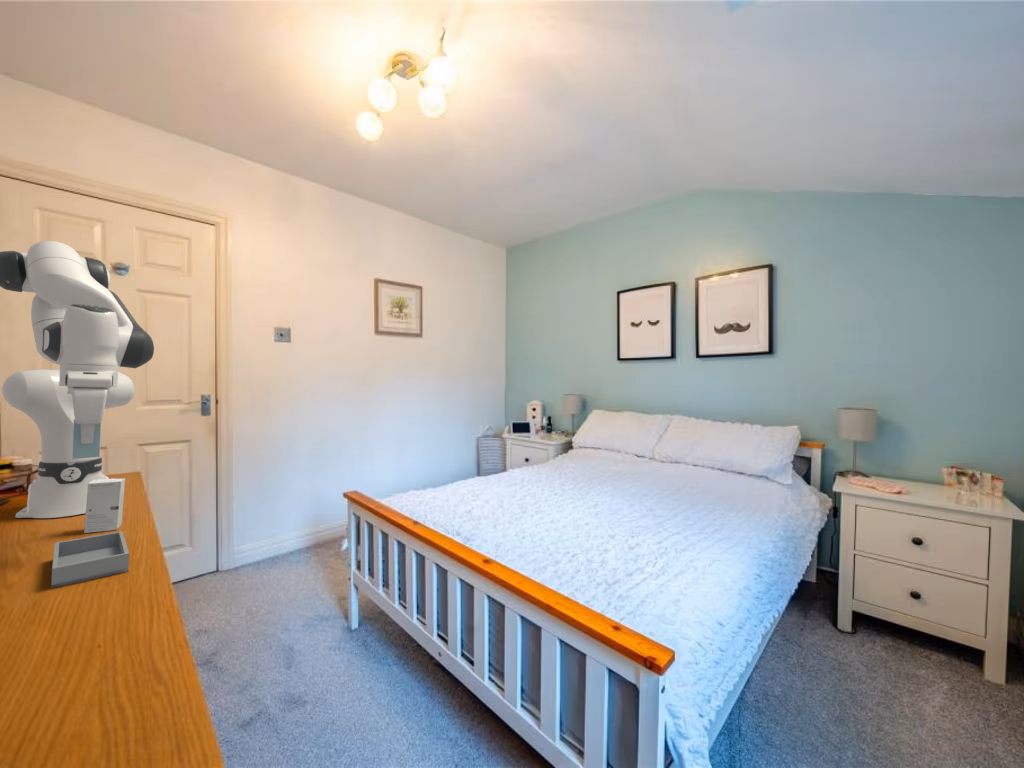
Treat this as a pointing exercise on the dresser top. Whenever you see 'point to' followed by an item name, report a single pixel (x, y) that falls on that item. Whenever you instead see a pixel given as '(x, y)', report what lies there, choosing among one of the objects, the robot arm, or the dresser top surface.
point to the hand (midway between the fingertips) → (86, 441)
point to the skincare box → (104, 505)
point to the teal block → (85, 449)
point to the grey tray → (89, 558)
